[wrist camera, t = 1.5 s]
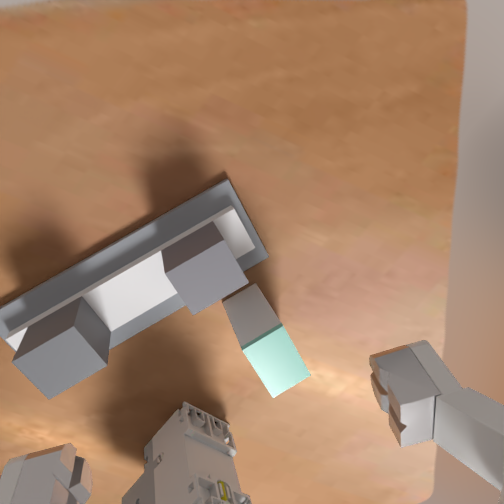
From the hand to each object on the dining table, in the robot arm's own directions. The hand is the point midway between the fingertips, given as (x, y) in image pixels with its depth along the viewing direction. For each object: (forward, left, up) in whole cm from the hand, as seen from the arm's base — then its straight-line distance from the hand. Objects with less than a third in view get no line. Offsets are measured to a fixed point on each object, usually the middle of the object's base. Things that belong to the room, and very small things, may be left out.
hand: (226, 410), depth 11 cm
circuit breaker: (-31, +17, -34) cm, 49 cm away
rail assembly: (-8, +8, -34) cm, 36 cm away
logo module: (-19, -1, -34) cm, 39 cm away
